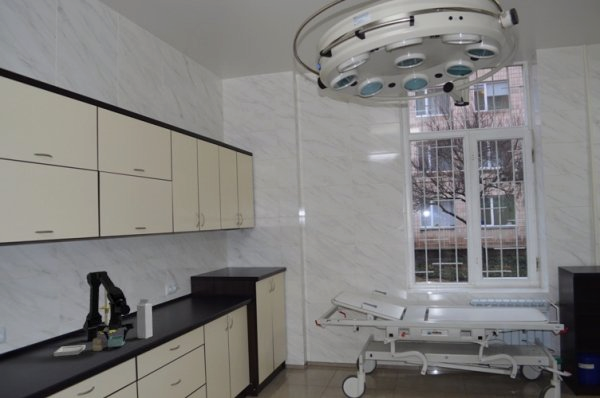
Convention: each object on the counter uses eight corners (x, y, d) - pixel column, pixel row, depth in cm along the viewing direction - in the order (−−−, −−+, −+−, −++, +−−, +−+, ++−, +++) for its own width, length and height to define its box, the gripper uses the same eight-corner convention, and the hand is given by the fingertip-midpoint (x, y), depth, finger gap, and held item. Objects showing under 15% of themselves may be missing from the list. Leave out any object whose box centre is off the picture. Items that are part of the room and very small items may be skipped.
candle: (119, 330, 287) (118, 278, 288) (107, 334, 277) (106, 280, 279) (107, 329, 290) (106, 278, 292) (94, 333, 281) (93, 280, 283)
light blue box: (111, 343, 250) (111, 336, 250) (124, 342, 251) (124, 335, 251) (108, 346, 243) (107, 339, 243) (122, 345, 244) (122, 338, 244)
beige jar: (95, 349, 245) (94, 337, 245) (103, 348, 246) (102, 337, 246) (93, 351, 241) (92, 339, 241) (101, 350, 242) (100, 339, 242)
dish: (61, 350, 246) (61, 346, 246) (85, 348, 248) (85, 344, 248) (53, 356, 234) (53, 352, 234) (78, 354, 236) (78, 350, 236)
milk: (144, 335, 271) (143, 298, 272) (152, 336, 269) (151, 298, 270) (137, 338, 265) (136, 300, 266) (145, 338, 263) (144, 300, 264)
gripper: (93, 317, 238) (94, 348, 238) (131, 315, 242) (131, 344, 241) (99, 313, 249) (99, 342, 249) (134, 311, 253) (135, 339, 252)
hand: (116, 342), depth 247 cm, fingers closed on light blue box, 7 cm apart
